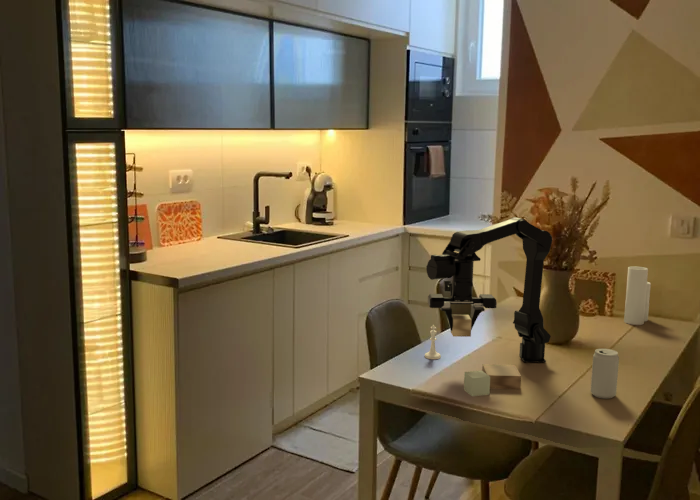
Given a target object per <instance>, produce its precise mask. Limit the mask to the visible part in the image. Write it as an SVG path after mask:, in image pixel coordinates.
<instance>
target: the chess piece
mask: <svg viewBox="0 0 700 500" xmlns="http://www.w3.org/2000/svg"><path fill="white" fill-rule="evenodd" d="M430 329H431V330H430V331H429V333H430V336H431V337H430V338H429V340H430V341H431V342H430V349H429V351H428V352H425V353H424V358H425V359H428V360H439V359H441V357H442V356H441V353H439V352H437V351H436V342H435V341H437V338H436V336H437V327H436V326H435V325H434V324H432V326H430Z"/></svg>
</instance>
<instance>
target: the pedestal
mask: <svg viewBox="0 0 700 500" xmlns="http://www.w3.org/2000/svg"><path fill="white" fill-rule="evenodd" d="M481 368H482V369H481V370H482V371H483V372H484V373H486V374H487V375H489V376H490V389H492V390H493V389H500V390H501V389H503V390H505V389H506V390H521V389H522V388H521V386H522V385H521V384H522V375H521V373H520V372H519V370H518V368H517V366H516V364H496V363H495V364H490V363H489V364H488V363H487V364H486V363H484V364H482V367H481Z"/></svg>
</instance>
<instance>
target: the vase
mask: <svg viewBox="0 0 700 500" xmlns="http://www.w3.org/2000/svg"><path fill="white" fill-rule="evenodd" d="M648 273H649V268H648V267H643V266H635V265H633V266H628V267H627V279H626V291H625V303H624V304H625V305H624V314H623V315H624V318H623V322H624V323H625V324H629V325H634V326H641V325H644V323H645V322H648V321H649V309H650V308H649V307H650V298H651V297H650V296H651V286H652V284H651V282H649V281H648V276H649V275H648Z"/></svg>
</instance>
